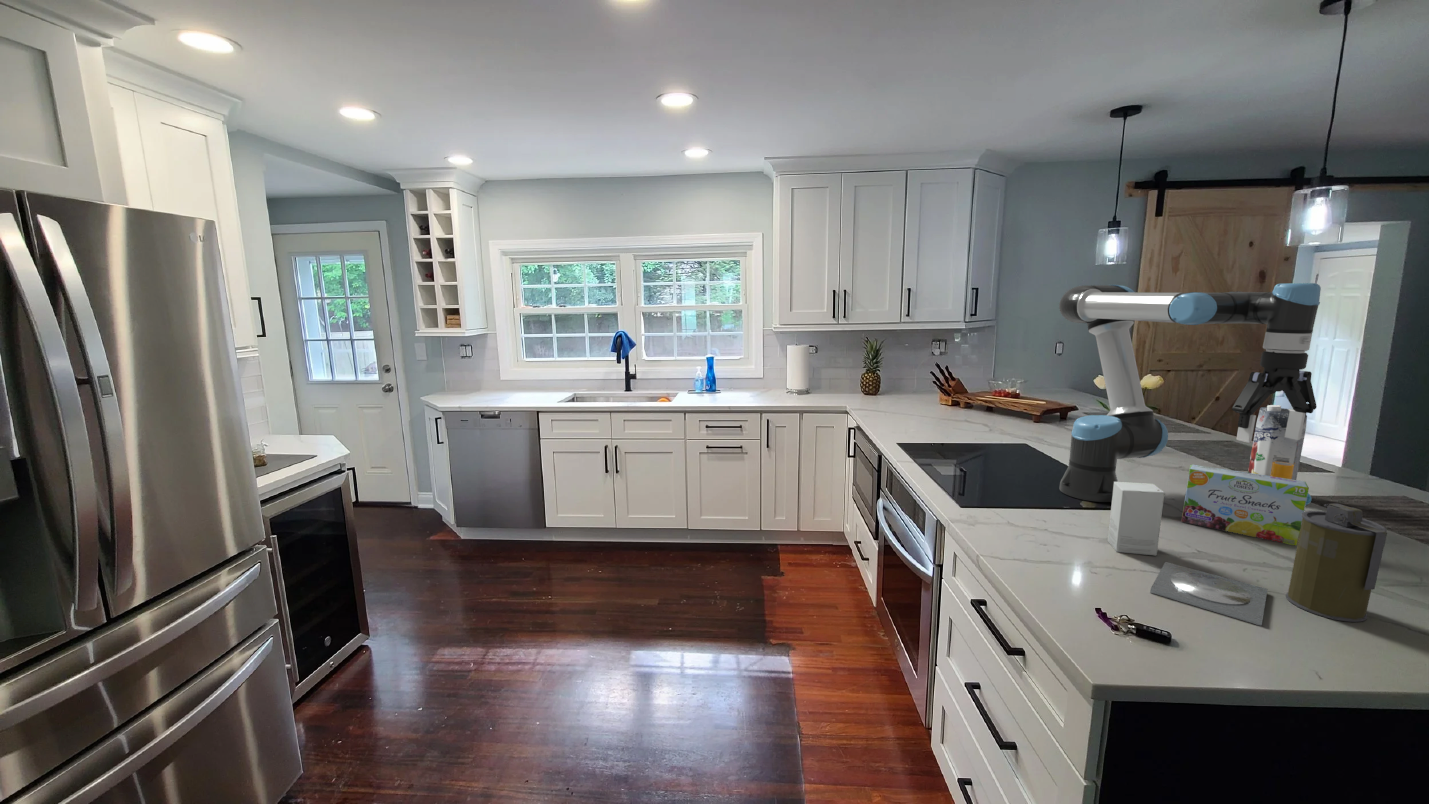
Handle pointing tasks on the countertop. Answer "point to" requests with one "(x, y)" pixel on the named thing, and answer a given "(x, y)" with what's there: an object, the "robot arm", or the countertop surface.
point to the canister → (1336, 563)
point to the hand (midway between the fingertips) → (1268, 440)
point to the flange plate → (1211, 592)
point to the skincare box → (1135, 518)
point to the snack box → (1245, 503)
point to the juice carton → (1274, 441)
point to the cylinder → (1284, 473)
